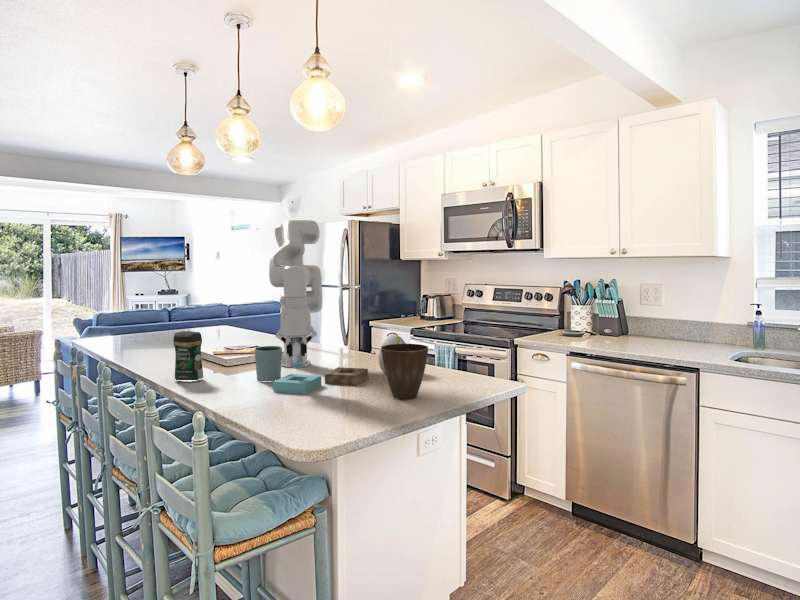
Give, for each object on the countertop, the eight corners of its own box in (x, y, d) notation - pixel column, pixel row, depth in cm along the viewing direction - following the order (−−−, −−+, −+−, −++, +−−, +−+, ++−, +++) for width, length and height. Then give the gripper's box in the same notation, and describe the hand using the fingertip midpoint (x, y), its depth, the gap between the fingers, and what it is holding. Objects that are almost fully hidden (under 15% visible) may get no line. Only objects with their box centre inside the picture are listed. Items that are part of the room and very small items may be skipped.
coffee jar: (170, 382, 185) (168, 332, 184) (185, 377, 193) (182, 329, 192) (193, 383, 183) (191, 333, 182) (207, 378, 191) (205, 330, 189)
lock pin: (289, 367, 171) (288, 338, 170) (294, 365, 175) (293, 336, 174) (299, 367, 170) (298, 338, 169) (305, 365, 174) (304, 337, 173)
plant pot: (428, 390, 167) (427, 343, 166) (429, 403, 153) (428, 350, 151) (383, 391, 168) (382, 343, 167) (380, 403, 153) (379, 351, 152)
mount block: (324, 383, 180) (324, 373, 180) (338, 376, 192) (338, 367, 191) (356, 385, 177) (356, 375, 176) (368, 377, 188) (367, 368, 188)
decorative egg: (407, 376, 190) (407, 337, 189) (375, 375, 192) (375, 336, 191) (412, 369, 202) (411, 332, 201) (382, 369, 204) (381, 332, 203)
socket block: (273, 391, 169) (273, 381, 169) (290, 383, 181) (290, 374, 180) (305, 394, 166) (305, 383, 166) (321, 385, 177) (321, 375, 177)
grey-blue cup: (265, 376, 194) (264, 345, 193) (288, 377, 191) (287, 346, 190) (249, 382, 184) (248, 349, 184) (273, 383, 181) (272, 350, 180)
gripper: (268, 303, 166) (270, 358, 167) (320, 302, 169) (321, 356, 170) (271, 302, 174) (272, 355, 175) (320, 301, 176) (321, 353, 177)
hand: (296, 355), depth 172 cm, fingers closed on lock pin, 4 cm apart
